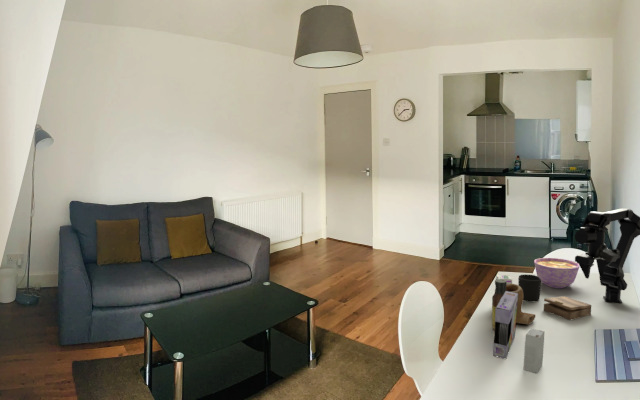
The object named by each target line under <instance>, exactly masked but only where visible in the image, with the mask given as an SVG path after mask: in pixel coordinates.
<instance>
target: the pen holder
mask: <svg viewBox="0 0 640 400" xmlns="http://www.w3.org/2000/svg"><path fill="white" fill-rule="evenodd" d="M517 285H519V286H520V287H521V288H522V290H523V296H524V298H523V302H524V301H525V302H531V303H533V302H539V301H540V298H541V297H540V296H541V288H542V287H541V286H542V282H541V279H540V278H539V277H538V276H537V275H534V274H520V275H518V284H517Z"/></svg>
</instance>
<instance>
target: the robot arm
mask: <svg viewBox="0 0 640 400" xmlns="http://www.w3.org/2000/svg"><path fill="white" fill-rule="evenodd" d="M615 221H617V223H619V230H620V234H621V235H620V237H619V240H618V243H617V245H616V248H614V249H609V248H608V245H607V244H606V243H605V239H606V238H605V235H606V231H609V229H608V225H610V224H611V222H615ZM639 236H640V216H639V215H637V214H636V213H635V211H633V209H631V208H622V207H621V208H618V209H614V210H613V209H612V210H608V211H602V212H601V211H590V212H588V214H587V215H586V217H585V218H584V221H583V223H582V225H581V227H580V228H579V230H578V231H576V232H575V234H574V239H575V241H576V243H578V244H580V245H585V246H587V251H585V254H584V253H583V254H577V255H576V256H574V262H576V263H578V264H579V266H580V267H579V268H580V269H581V271H582V274H583V275H584V277H585V279H589V278H590V274H591V268H592V267H593V266H594V265H595V264H594V262H595V260H596V264H597V265H596V266H597V270H598V271H597V272H598V275H599V282H600V286H603V287H605V293H604V295H603V296H602V298H603V300H604V302H606V303H614V304H623V301H622V299H621V295H622V291H625V290H626V289H627V287H628V283H627V282H626V280H625V273H624V270H623V269H624V266H625V262H626V260H627V258H628V255H629V252H630V250H631V247H632V246H633V242H634V239H636V238H638V237H639Z"/></svg>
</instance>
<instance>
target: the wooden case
mask: <svg viewBox="0 0 640 400" xmlns="http://www.w3.org/2000/svg"><path fill="white" fill-rule="evenodd" d="M543 311H544V312H547V313H550V314H552V315H555V316H558V317H560V318H562V319H566V320H569V321H572V320H575V319H580V318H584V317H587V316H591V315H592V307H591V308H583V309H576V310H569V309H566V308H563V307H560V306H557V305H554V304H552V303H549V302H545V303H543Z"/></svg>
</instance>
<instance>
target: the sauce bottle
mask: <svg viewBox="0 0 640 400" xmlns="http://www.w3.org/2000/svg"><path fill="white" fill-rule="evenodd" d="M494 285H495V288H496V289H495V288H494V294H493V295H492V297H491V298H492V299H491V300H492V301H491V302H492V303H491V322H492V323H491V326H492V327H491V328H492V330H493V332H494V330H495V311H496V307H497V305H498V303H499V301H500V299H501V298H502V296H503V295H504V293H505V291H506V285H507V282H506V281H505V280H501V279H499V280H496V279H495V280H494Z"/></svg>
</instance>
